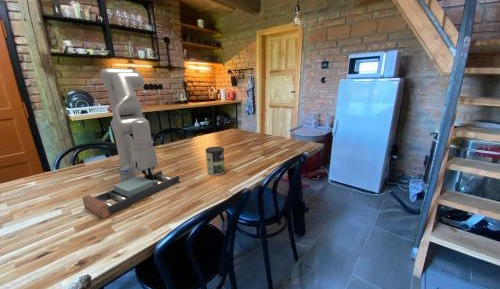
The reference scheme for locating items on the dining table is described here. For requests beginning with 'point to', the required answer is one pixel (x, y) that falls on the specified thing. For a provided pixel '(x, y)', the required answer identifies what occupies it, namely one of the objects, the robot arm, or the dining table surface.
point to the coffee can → (215, 160)
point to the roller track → (105, 208)
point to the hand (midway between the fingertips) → (149, 180)
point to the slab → (133, 186)
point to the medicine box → (127, 173)
